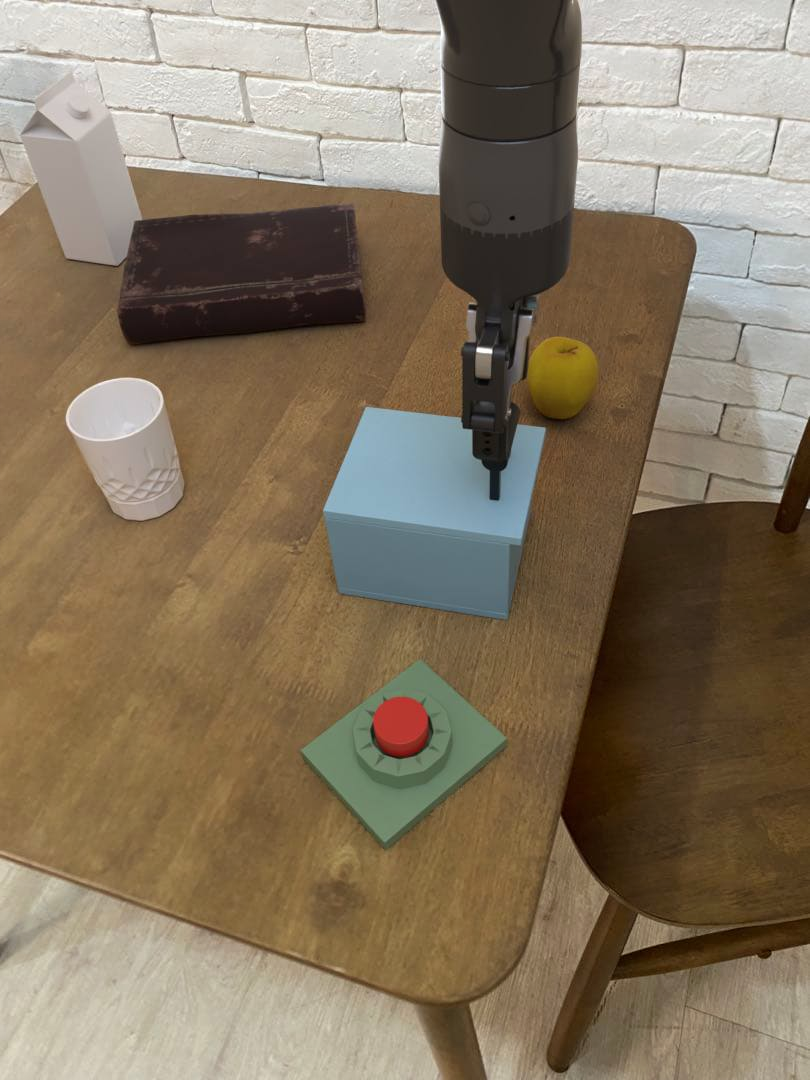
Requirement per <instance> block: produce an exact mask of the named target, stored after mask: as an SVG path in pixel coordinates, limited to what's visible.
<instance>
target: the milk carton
mask: <svg viewBox="0 0 810 1080" xmlns="http://www.w3.org/2000/svg"><path fill="white" fill-rule="evenodd" d="M32 100H33V104H34V106H35V109H36V111H35V112H34V113H33V115H32V116H31V118H30V119H29V121H28V122H27V124H26V125H25V127H24V128H23V129H22V131H21V132H20V134H19V137H20V139H21V142H22V145H23V147H24V150H25V152H26V156H27V158H28V160H29V164H30V166H31V169H32V172H33V174H34V177H35V180H36V182H37V184H38V187H39V190H40V193H41V195H42V198H43V201H44V204H45V206H46V209H47V211H48V214H49V217H50V220H51V222H52V225H53V227H54V231H55V232H56V236H57V238H58V242H59V243H60V246H61V250H62V252H63V255H64V257H65V259H67V260H72V261H73V260H74V261H79V262H80V261H81V262H87V263H95V264H101V265H108V266H115V267H118V266H119V265H120V264H122V262H124V261H125V260H126V258H127V253H128V248H129V243H130V239H131V234H132V230H133V225H134V221H138V220H143V217H142V213H141V210H140V207H139V203H138V199H137V196H136V193H135V190H134V186H133V183H132V179H131V176H130V172H129V168H128V165H127V163H126V158H125V155H124V152H123V149H122V146H121V142H120V139H119V135H118V132H117V128H116V125H115V121H114V118H113V114H112V112H111V110H110V109H109V108H108V107H106V106H105V105H104V103H102V102H101V101H99V100H98V99H97V98H96V97H95V96H93V95H92V94H91V93H90V92H89V91H87V90H86V88H84V87H83V86H82V85H80V83H78V82H77V81H76V79H75V76H74V72H73V71H72V70H70V71H68V72H67V73H66V74H65V75H63V76H62V77H60V78H59V79H58V80H56V81H55V82H54V83H53V84H51V85H50V86H48V87H47V88H46V89H45V90H43V91H42V92H41V93H39V95H37V96H36V97H34V98H33V99H32Z"/></svg>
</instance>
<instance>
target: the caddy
mask: <svg viewBox="0 0 810 1080" xmlns="http://www.w3.org/2000/svg"><path fill="white" fill-rule="evenodd" d="M532 499H533V498H532ZM532 499H531V504H530V508H529V513H528V517H527V522H526V526H525V531H524V535H523V540H522V545H521V546H519V545H512V544H505V543H498V542H491V541H484V540H477V539H470V538H463V537H456V536H449V535H442V534H435V533H428V532H421V531H414V530H407V529H400V528H393V527H386V526H379V525H372V524H365V523H358V522H351V521H344V520H337V519H330V518H324V523H325V528H326V529H325V530H326V533H327V540H328V546H329V551H330V556H331V561H332V567H333V572H334V578H335V582H336V587H337V588H336V589H337V593H338V594H339V595H347V596H353V597H359V598H365V599H372V600H378V601H385V602H391V603H396V604H403V605H408V606H415V607H422V608H427V609H428V608H429V609H433V610H434V609H435V610H441V611H447V612H453V613H458V614H459V613H460V614H465V615H472V616H477V617H478V616H479V617H483V618H484V617H485V618H491V619H496V620H502V621H508V619H509V615H510V610H511V606H512V601H513V597H514V592H515V587H516V583H517V579H518V574H519V569H520V564H521V561H522V560H521V559H522V555H523V552H524V551H523V550H524V546H525V542H526V537H527V532H528V527H529V524H530V523H529V522H530V518H531V514H532V501H533V500H532Z"/></svg>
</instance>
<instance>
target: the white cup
mask: <svg viewBox="0 0 810 1080" xmlns="http://www.w3.org/2000/svg"><path fill="white" fill-rule="evenodd" d="M65 424H66V426H67V428H68V430H69V432H70V434H71V436H72V438H73V440H74V442H75V444H76V446H77V448H78V450H79V452H80V454H81V456H82V458H83V460H84V462H85V464H86V466H87V467H88V469H89V471H90V473H91V475H92V477H93V479H94V481H95V483H96V485H97V486H98V488H99V489H100V490H101V491H102V493H103V495H104V497H105V498H106V501H107V502H108V505H109V507H110V508H111V510H112V512H113V514H115V515H117V516H119V517H121V518H122V519H124V520H127V521H138V522H139V521H140V522H142V521H147V520H152V519H156V518H160V517H161V516H163V515H164V514H166V513H168V512H169V511H171V510H173V509H174V508H175V507H176V505H177V504H178V503H179V502H180V501H181V499H182V498H183V496H184V491H185V480H184V477H183V472H182V468H181V465H180V458H179V453H178V450H177V449H178V448H177V446H176V440H175V436H174V433H173V429H172V425H171V422H170V418H169V414H168V411H167V406H166V403H165V399H164V396H163V393H162V391H161V390H160V388H159V387H158V386H157V385H155V384H154V383H152V382H150V381H148V380H146V379H143V378H137V377H118V378H112V379H108V380H105V381H100V382H98V383H95V384H94V385H92V386H90V387H88V388H86V389H85V390H83V391H82V392H81V393H79V394H78V395H77V396H76V397H75V398H74V399H73V400H72V401H71V403H70V404H69V406H68V408H67V410H66V413H65Z"/></svg>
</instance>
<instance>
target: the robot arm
mask: <svg viewBox="0 0 810 1080" xmlns="http://www.w3.org/2000/svg"><path fill="white" fill-rule="evenodd" d="M434 3H435V7H436V10H437V14H438V19H439V22H440V46H439V48H440V49H439V59H440V61H439V64H440V94H441V95H440V97H441V98H440V99H441V102H440V103H441V126H440V127H441V128H440V136H439V145H438V187H439V190H438V191H439V218H440V219H439V221H440V224H439V225H440V252H441V266H442V270H443V272H444V275H445V276H446V278H447V279H448V280H449V281H450V282H451V283H452V285H454V286H455V287H456V288H458V289H460V290H461V291H463V292H464V293H467V294H468V295H469V296H471V297H472V298H473V299H474V300H475V302H469V303H468V305H467V312H466V321H465V329H466V331H467V332H468V339H467V340H465V341H464V343H463V346H462V347H461V351H460V357H462V361H461V363H462V365H461V367H462V369H461V370H462V371H461V372H462V374H461V378H462V379H461V381H462V383H461V384H462V385H461V387H462V389H461V391H462V393H461V394H462V397H461V398H462V400H461V402H462V404H461V413H462V414H461V417H460V418H461V423H462V427H463V429H469V430H472V454H473V456H474V457H475V458H476V459H479V460H486V461H494V462H502V461H504V460H505V459H506V455H507V451H508V423H509V417H511V412H512V409H510V406H511V402H512V396H513V389H514V386H515V385H517V384H519V383H520V382H521V381H525V380H526V379H527V373H528V364H529V360H530V342H531V341H530V339H531V335H532V333H533V328H534V327H535V324H536V323H537V321H538V314H539V309H540V298H541V294H542V293H544V292H547V291H549V290H550V289H551V288H553V287H554V286H556V285H557V284H558V283H559V282H560V281H562V279H563V278H564V276H565V275H566V274H567V271H568V269H569V267H570V261H571V249H572V237H573V225H574V212H575V203H576V202H575V200H576V187H577V176H578V167H579V165H578V164H579V139H578V105H579V103H578V102H579V90H580V79H581V67H582V54H583V51H582V50H583V17H582V10H581V5H580V1H579V0H434Z"/></svg>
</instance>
